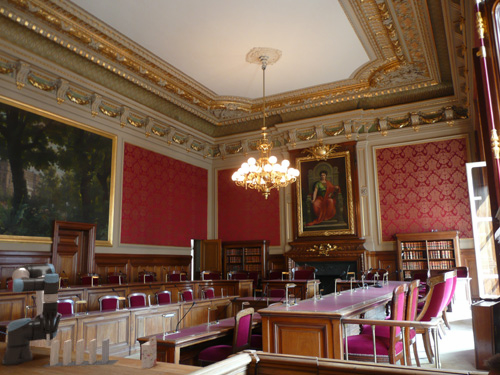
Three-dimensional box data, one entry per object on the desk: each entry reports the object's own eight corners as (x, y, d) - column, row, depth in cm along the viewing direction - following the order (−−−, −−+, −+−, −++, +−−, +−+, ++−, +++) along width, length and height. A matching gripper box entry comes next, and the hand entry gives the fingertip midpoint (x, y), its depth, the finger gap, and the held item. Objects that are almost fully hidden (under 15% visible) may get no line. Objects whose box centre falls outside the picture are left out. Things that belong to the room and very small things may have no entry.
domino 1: (49, 365, 226) (50, 342, 228) (55, 362, 232) (55, 340, 234) (53, 365, 226) (54, 342, 228) (58, 362, 232) (59, 340, 234)
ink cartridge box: (148, 363, 225) (148, 335, 227) (156, 364, 224) (156, 335, 226) (140, 368, 217) (141, 338, 219) (149, 368, 216) (149, 338, 218)
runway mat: (42, 367, 224) (42, 366, 224) (51, 363, 234) (51, 362, 234) (113, 365, 224) (113, 364, 224) (119, 360, 234) (119, 359, 234)
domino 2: (62, 365, 226) (63, 341, 228) (67, 362, 232) (68, 339, 234) (66, 365, 226) (67, 341, 228) (70, 362, 232) (71, 339, 234)
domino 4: (88, 364, 226) (89, 341, 228) (92, 361, 232) (93, 338, 234) (92, 364, 226) (92, 340, 228) (96, 361, 232) (96, 338, 234)
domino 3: (75, 364, 226) (76, 341, 228) (80, 361, 232) (81, 339, 234) (79, 364, 226) (79, 341, 228) (83, 361, 232) (84, 339, 234)
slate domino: (101, 363, 226) (102, 340, 228) (105, 361, 232) (106, 338, 234) (105, 363, 226) (105, 340, 228) (108, 360, 232) (109, 338, 234)
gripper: (35, 303, 231) (33, 348, 227) (58, 302, 230) (57, 347, 226) (42, 301, 238) (40, 345, 234) (65, 300, 238) (63, 344, 234)
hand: (48, 346), depth 230 cm, fingers closed
